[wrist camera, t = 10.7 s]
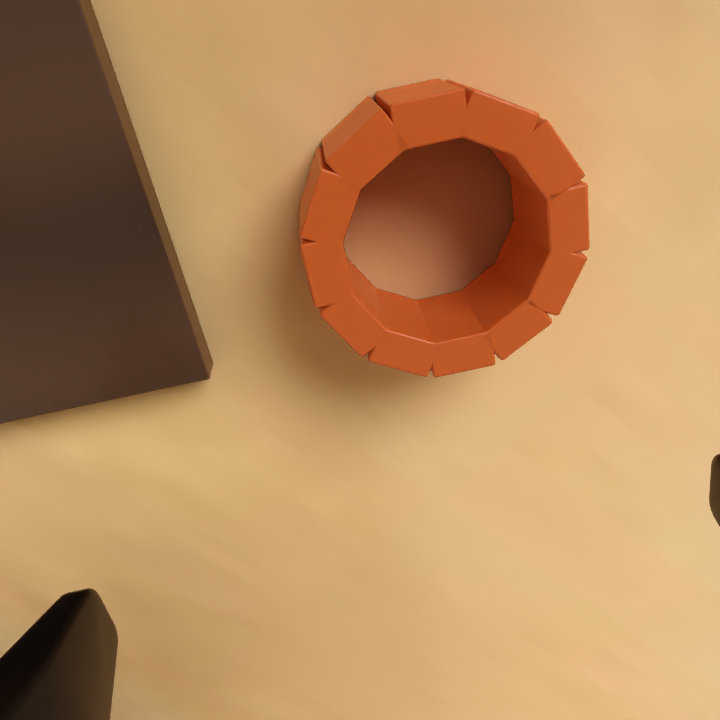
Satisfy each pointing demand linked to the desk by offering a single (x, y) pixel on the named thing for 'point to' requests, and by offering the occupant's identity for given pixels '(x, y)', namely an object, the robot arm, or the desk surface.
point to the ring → (494, 286)
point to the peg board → (80, 228)
